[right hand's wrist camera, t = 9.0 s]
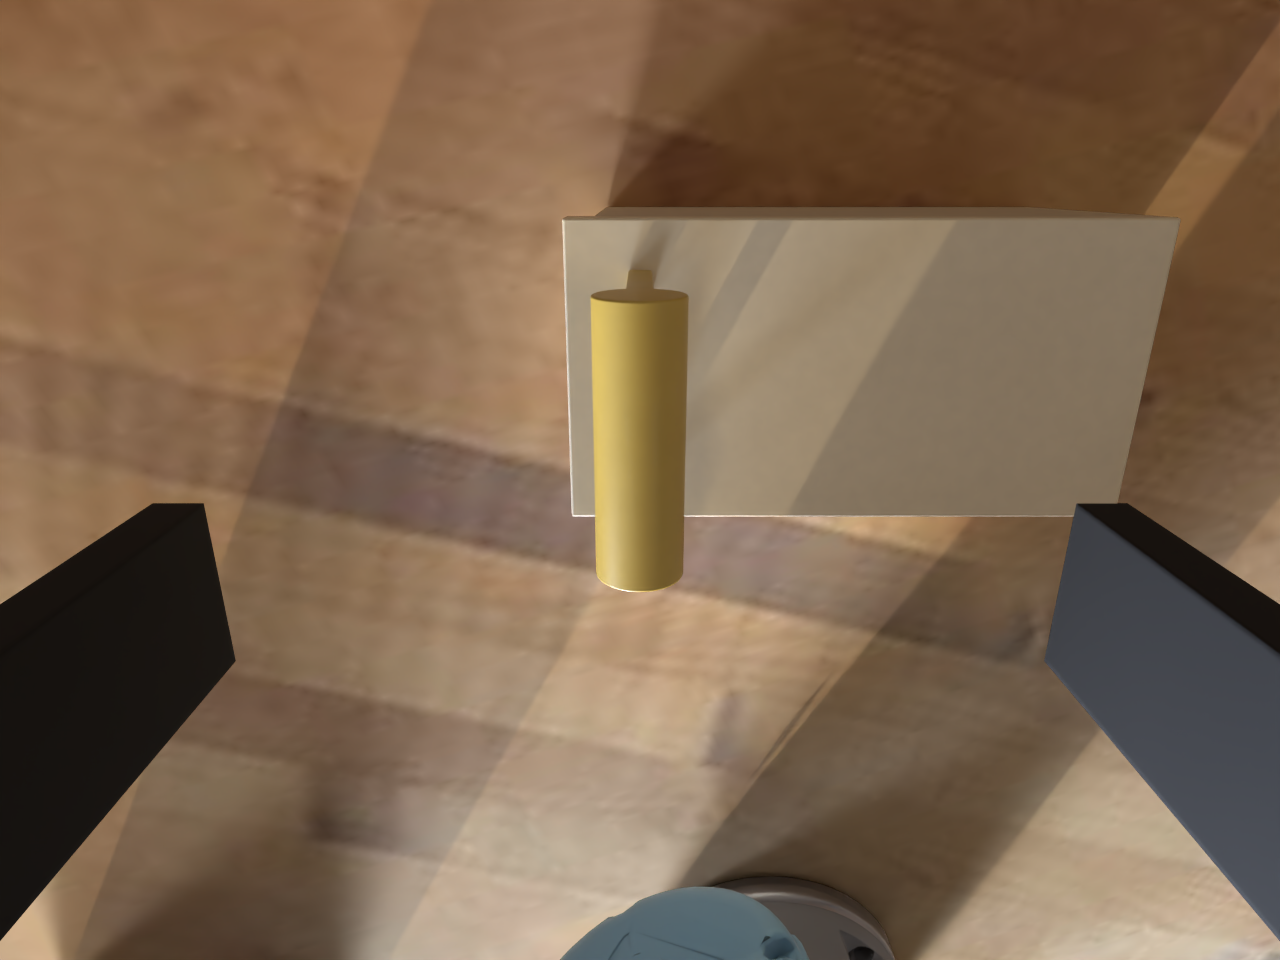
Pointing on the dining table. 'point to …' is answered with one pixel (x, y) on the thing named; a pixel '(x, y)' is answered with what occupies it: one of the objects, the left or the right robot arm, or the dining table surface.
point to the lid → (849, 369)
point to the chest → (848, 211)
